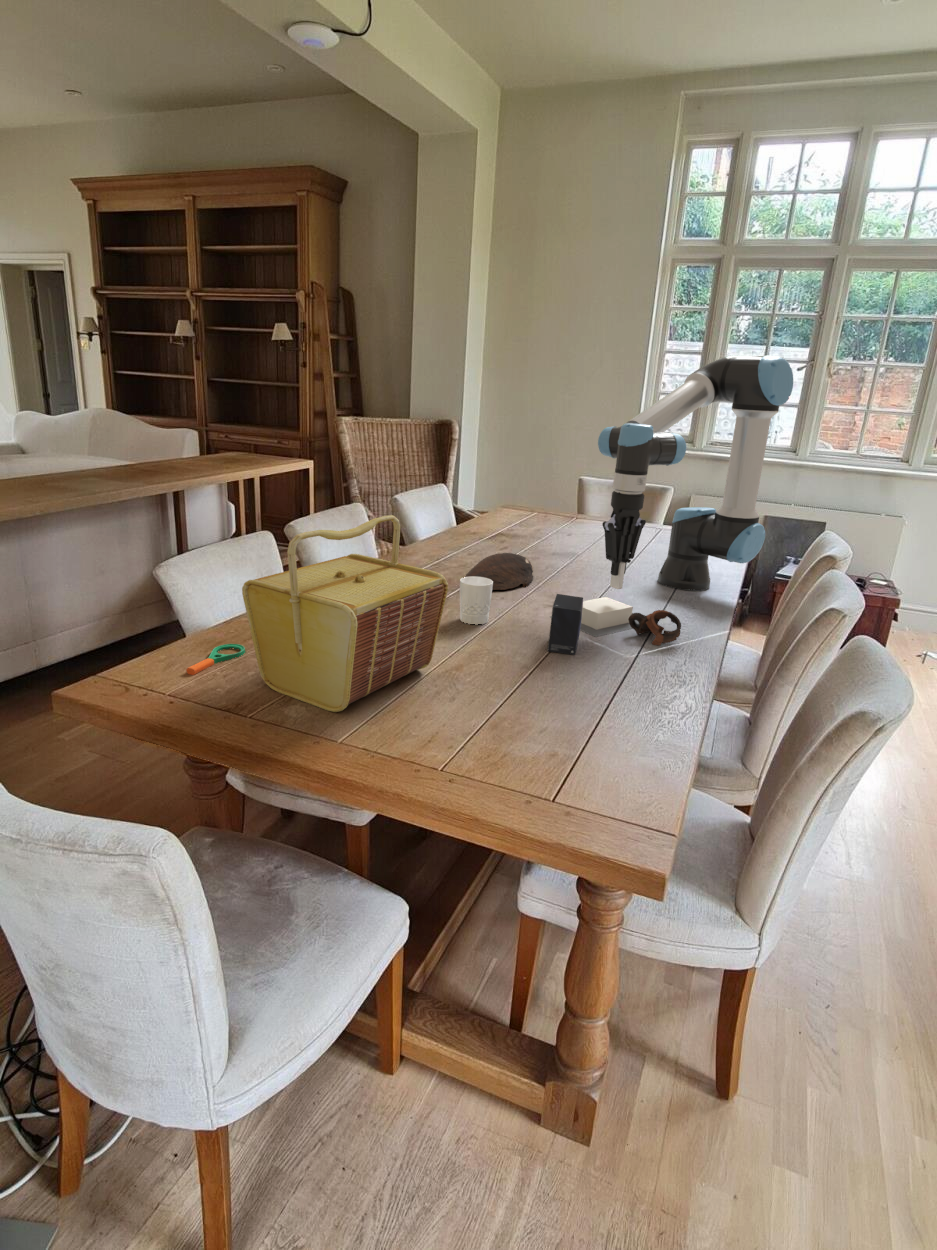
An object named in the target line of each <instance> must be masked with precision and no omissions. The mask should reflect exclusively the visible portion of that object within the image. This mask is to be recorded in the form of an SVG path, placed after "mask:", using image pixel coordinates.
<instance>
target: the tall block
mask: <svg viewBox="0 0 937 1250" xmlns="http://www.w3.org/2000/svg"><path fill="white" fill-rule="evenodd" d="M633 608H634V606H632V605H628V604H626V603H624V602H621V601H618V600H616V599H612V598H610V597H608V596H604V597H603V596H602V597H600V598H599V597H598V598H593V599H587V600H583V610H582V620H581V623H582V624H584V625H587V626H589V627H592V628H594V629H596V630H597V629H602V628H606V627H611V626H616V625H620V624H625V623H629V620H628V619H629V617H630V616H631V614H632V613H633V611H634V609H633Z"/></svg>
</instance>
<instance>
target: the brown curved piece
mask: <svg viewBox="0 0 937 1250" xmlns="http://www.w3.org/2000/svg"><path fill="white" fill-rule="evenodd" d="M632 613H633V612H632ZM666 618H669V619H670V623H671V622H672V623H673V624H674V625H676V628H675V629H674V630H665V627H664V626H662V625H660V624H659V622H660V621H661V620H663V619H666ZM628 620H629V624H630V626H631V627H632V628H633V629H632V630H634V631H635V632H636V634H637V636H640V635H641V634H643V633H649V632H651V633H652V634H653V635H654V636H655V637H654V639H653V640H652V642H651V644H652V645H653V646H661V645H664V644H669V643H672V642H674V641H676V640H677V639H678V638H679V637H680V635H681V629H682V623H681V621H680V619H679V617H678V616H677V615H675V614H674V613H672V612H670V611H667V610H664V609H658V610H655V611H653V612H651V613H649V614H647V615H645V614H643V613H640V612H634V613H633V614H631V616H630V617H629V619H628ZM635 620H637V621H638V622H639V624H637V623H636V622H635Z"/></svg>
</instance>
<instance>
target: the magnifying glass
mask: <svg viewBox="0 0 937 1250" xmlns="http://www.w3.org/2000/svg"><path fill="white" fill-rule="evenodd" d="M229 648H231V649H229ZM232 648H234V649H232ZM223 649H226V650H236V649H239V650H241V651H239V650H238V652H236V653H230V654H229V653H228V654H225V653H219V652H221V651H224V650H223ZM220 650H221V651H220ZM218 651H219V652H218ZM244 653H246V648H245V646H244V645H242V644H239V643H226V644H220V645H218V646H215V647H214V648H213V649H212V650H211V652H210V654H209V656H208V657H207V658H205V659H204V660H201V661H199V662H197V663H195V664H193V665H191V666H188V667H187V668H186V673H187V674H188V675H191V676H195V675H196V674H198V673H200V672H202V671H204V670H206V669H208V668H209V667H212V666H214V665H215V664H218V662H219V663H222V662H226V661H230V660H233V659H232V658H234V659H236V658H235V657H238V658H240V657H242V656H244V655H245V654H244ZM243 654H244V655H243ZM241 655H242V656H241ZM239 656H240V657H239ZM229 659H230V660H229ZM225 660H226V661H225ZM221 661H222V662H221Z"/></svg>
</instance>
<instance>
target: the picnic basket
mask: <svg viewBox="0 0 937 1250" xmlns="http://www.w3.org/2000/svg"><path fill="white" fill-rule="evenodd" d="M390 521H391V522H392V525H393V533H392V547H391V561H390V560H386V559H381V558H376V557H372V556H367V555H363V554H359V553H350V554H347V555H344V556H341V557H337V558H333V559H327V560H325V561H320V562H318V563H317V562H316V563H312V564H309V565H305V566H301V567H297V556H296V555H297V554H296V550H297V545H298V544H299V543H300V542H301V540H305V539H308V538H310V539H311V538H314V537H315V538H316V537H321V538H324V539H326V540H332V541H333V540H334V541H341V540H342V541H343V540H344V541H345V540H348V539H353V538H356V537H360V536H362V535H364V534H366V533H368V532H370V531H372V529H373V528H375V527H376V526H377V525H378V524H381V523H384V522H390ZM400 537H401V524H400V520H399V519H398V518H397V517H396V516H395V515H393V514H392V515H391V514H390V515H383V516H379V517H375V518H372V519H371V520H368V521H365V522H364V523H361V524H360V525H357V526H356V527H353V528H349V529H344V530H332V529H315V530H310V531H305V532H300V533H298V534H296V535H295V536H294V537H293V538H292V539H291V540H290V541H288V542H289V543H288V547H287V550H286V551H287V563H288V564H287V565H288V570H285V571H283V572H278V573H275V574H274V573H273V574H270V575H267V576H263V577H259V578H256V579H255V578H253V579H249V580H246V581H245V582H244V583H243V585H242V587H241V590H242V591H241V592H242V598H243V599H242V600H243V603H244V608H245V613H246V616H247V617H246V618H247V621H248V626H249V630H250V634H251V640H252V643H253V644H252V645H253V648H254V653H255V657H256V661H257V666H258V671H259V674H260V677H261V679H262V680H263V682H264V683H265V684H266V685H267V686H268V687H269V688H270V689H271V690H273V691H275V692H277V693H279V694H282V695H285V696H286V697H290V698H292V699H295V700H299V701H301V702H304V703H306V704H309V705H312V706H314V707H317V708H320V709H322V710H325V711H327V712H333V713H337V712H338V713H339V712H343V710H345V709H346V708H347V707H348V706H349V705H351V704H352V703H355V702H357V701H358V700H361V699H362V698H364V697H366V696H368V695H370V694H372V693H374V692H376V691H378V690H380V689H381V688H384V687H386V686H387V685H389V684H390V685H391V683H394V682H395V681H397V680H399V679H401V678H403V677H405V676H407V675H408V674H411V673H413V672H415V671H419V670H423V669H425V668H427V666H429V665H430V663H431V662H432V659H433V654H434V651H435V648H436V647H435V646H436V642H437V637H438V633H439V629H440V625H441V621H442V616H443V613H444V609H445V604H446V600H447V597H448V592H449V583H448V581H447V579H446V578H445V576H444V575H442V573H439V572H437V571H435V570H430V569H426V568H422V567H417V566H412V565H408V564H403V563H399V562H398V561H399V550H400Z"/></svg>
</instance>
